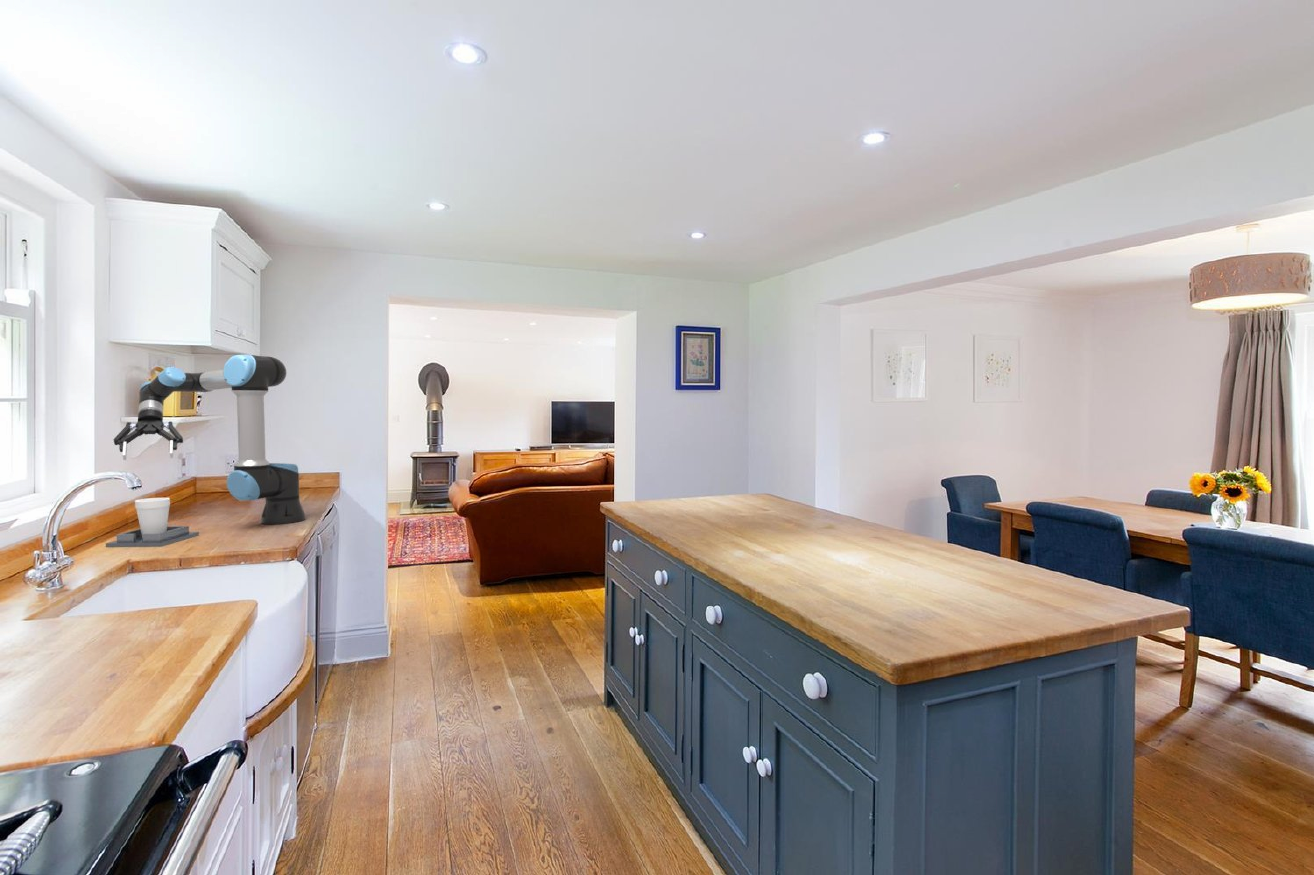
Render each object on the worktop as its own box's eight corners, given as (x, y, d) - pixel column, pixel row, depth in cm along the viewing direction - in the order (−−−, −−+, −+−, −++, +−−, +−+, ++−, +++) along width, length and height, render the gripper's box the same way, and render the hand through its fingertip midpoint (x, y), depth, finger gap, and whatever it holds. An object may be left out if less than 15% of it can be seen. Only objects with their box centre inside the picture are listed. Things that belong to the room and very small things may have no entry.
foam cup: (178, 535, 226) (176, 498, 225) (149, 540, 217) (147, 502, 216) (158, 533, 229) (157, 497, 228) (130, 539, 220) (128, 501, 220)
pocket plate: (147, 535, 232) (147, 525, 232) (198, 535, 232) (198, 524, 232) (105, 547, 214) (105, 535, 214) (161, 546, 214) (160, 535, 214)
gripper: (191, 420, 258) (191, 461, 246) (109, 422, 245) (105, 465, 233) (190, 407, 253) (189, 448, 242) (106, 408, 240) (102, 451, 228)
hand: (148, 456), depth 237 cm, fingers open, 13 cm apart
